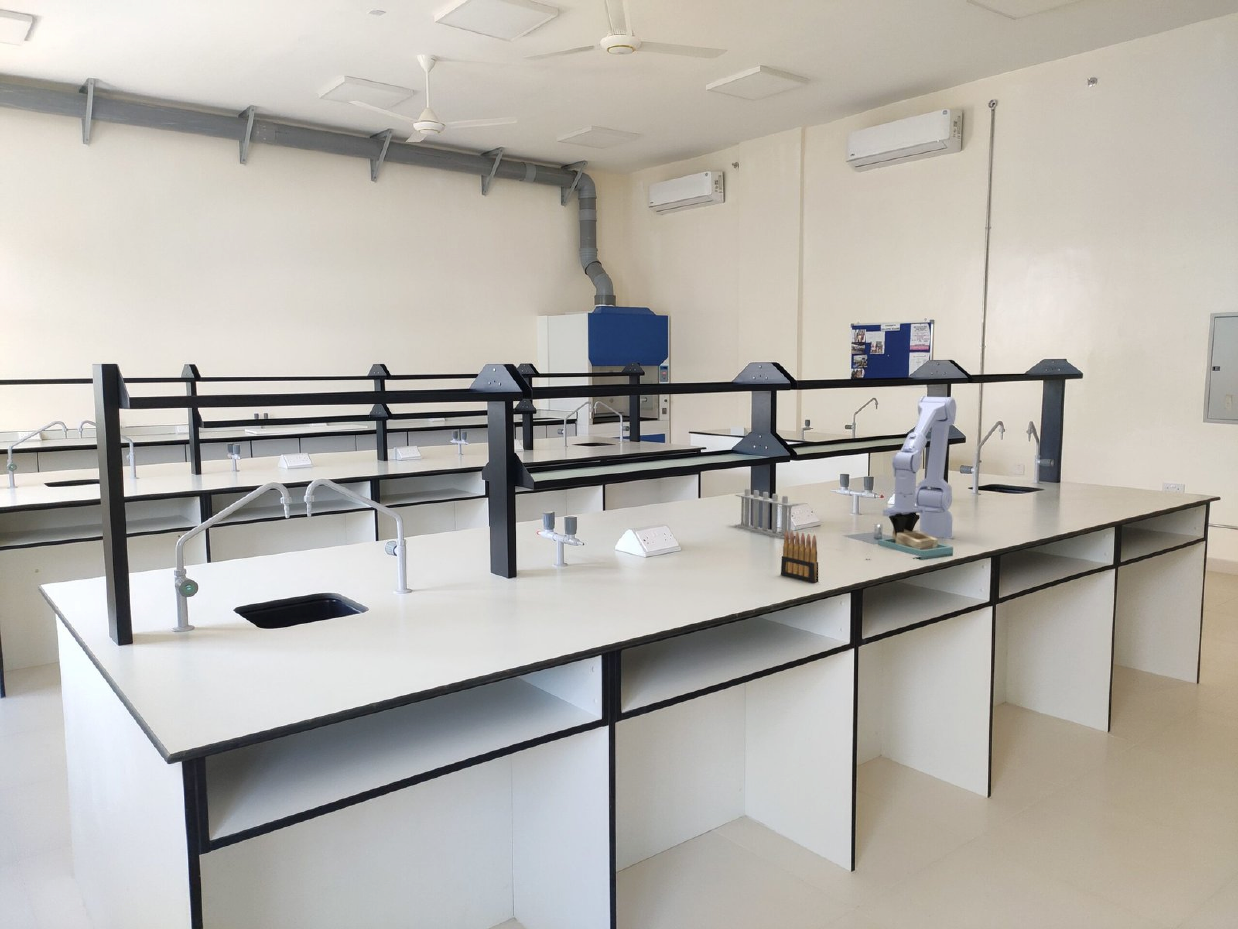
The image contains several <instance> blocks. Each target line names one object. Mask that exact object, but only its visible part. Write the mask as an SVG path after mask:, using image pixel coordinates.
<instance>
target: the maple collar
mask: <svg viewBox="0 0 1238 929" xmlns="http://www.w3.org/2000/svg"><path fill="white" fill-rule="evenodd" d="M892 527H893V526H892ZM891 536H892V539H894V540H896V542H895V543H896V544H900V545H904V546H908V547H911V548H915V549H919V550H927V549H934V548H937V543H938V544H939V542H938V541H939V539H938V538H934V537H932V536H929V535H927V534H925V533H922V532H920V530H913V531H908V530H906V529H904V532H900V533H897V536H896V535H895V531H894V527H893V528H892V535H891Z"/></svg>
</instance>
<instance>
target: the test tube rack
mask: <svg viewBox="0 0 1238 929" xmlns="http://www.w3.org/2000/svg"><path fill="white" fill-rule="evenodd" d="M734 495H735V497H740V499H741V503H740V504H741V507H740V508H741V512H740V516H741V518H740V519H741V520H740V523H739V524H738V523H737V524H734V528H737V527H738V529H741V530H746V531H749V532H753V533H757V534H760V535H761V534H762V535H766V536H770V537H773V538H774V537H775V538H778V539H781V540H782V539H783V540H784V536H785V531H786V530H788V534H789V540H790V534H791V531H792V528H791V527H792V507H793V506H794V507H795V506H799V504H798V503H796V502H790V501H789V500H788V499H789V496H788V495H782V497H781V500H780V499H779V494H778V493H772V497H771V498H770V497H769V492H768V491H763V492H762V496H760V491H759V490H757V489H756V490H755V489H754V490H753V494H751V488H744V493H740V494H739V493H738V494H737V493H736V494H734ZM751 500H753V511H752V512H753V516H752V519H753V520H752V524H753V526H752V524H750V520H751V519H750V518H751V517H750V514H751V512H750V511H751ZM760 502H762V521H761V524H762V527H761V528H760V526H759V522H760V520H759V519H760V517H759V516H760V515H759V512H760V509H759V508H760V507H759V506H760ZM769 504H772V505H771V506H772V507H771V529H768V527H769V526H768V525H769ZM779 505H780V506H781V532H780V531H778V519H779V518H778V516H779V514H778V507H779ZM795 536H796V535H794V540H795Z"/></svg>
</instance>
